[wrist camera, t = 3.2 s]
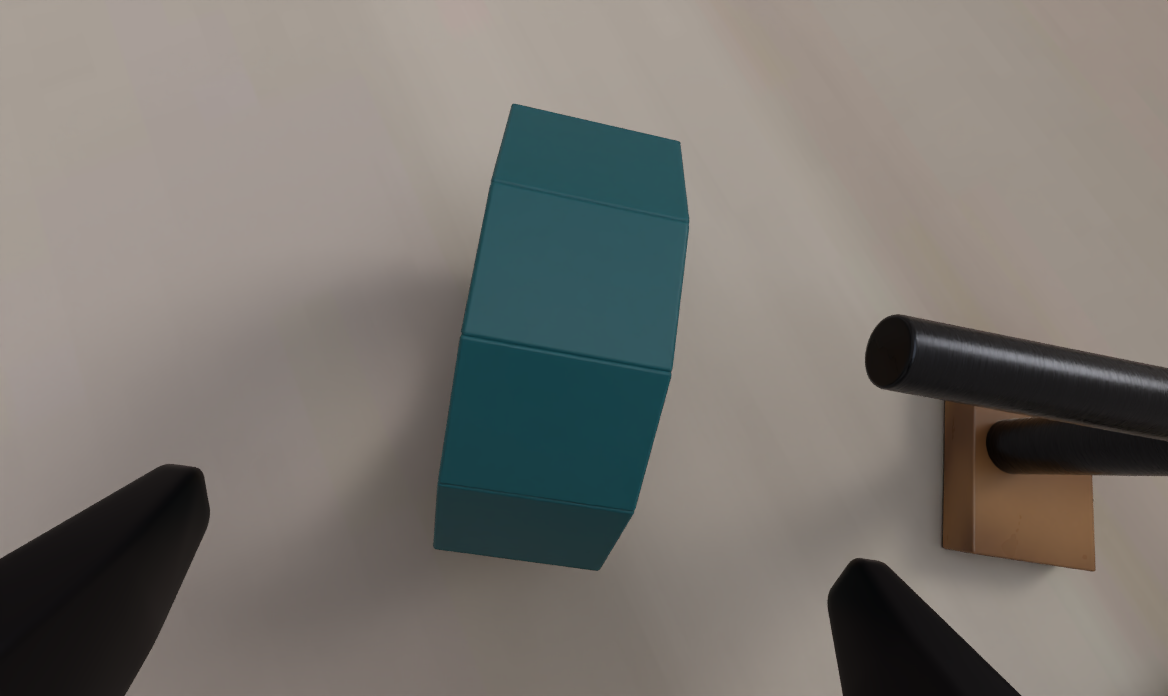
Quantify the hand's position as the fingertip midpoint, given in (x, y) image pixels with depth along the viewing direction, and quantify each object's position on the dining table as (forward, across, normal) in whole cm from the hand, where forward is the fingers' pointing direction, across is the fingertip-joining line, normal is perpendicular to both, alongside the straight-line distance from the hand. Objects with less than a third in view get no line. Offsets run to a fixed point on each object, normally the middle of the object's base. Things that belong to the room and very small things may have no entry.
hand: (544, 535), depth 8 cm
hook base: (+12, -19, +6) cm, 23 cm away
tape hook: (+12, -13, +6) cm, 18 cm away
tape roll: (+12, 0, +6) cm, 13 cm away
